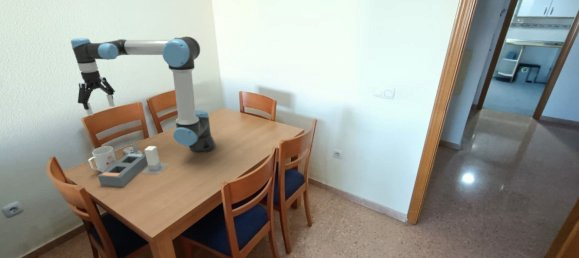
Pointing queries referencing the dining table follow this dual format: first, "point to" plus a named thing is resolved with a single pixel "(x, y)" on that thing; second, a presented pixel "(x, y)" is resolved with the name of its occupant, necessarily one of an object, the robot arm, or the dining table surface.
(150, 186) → the dining table surface
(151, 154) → the plug
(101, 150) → the mug
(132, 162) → the dock
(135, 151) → the electronic device
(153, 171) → the mat
